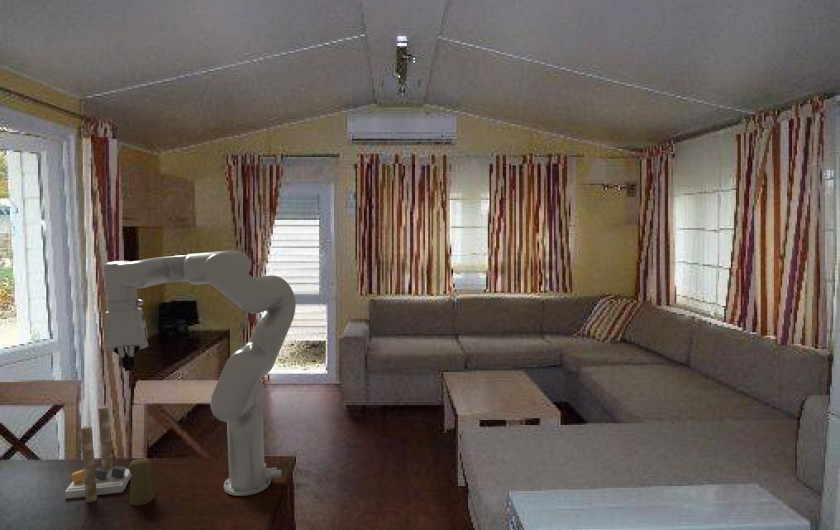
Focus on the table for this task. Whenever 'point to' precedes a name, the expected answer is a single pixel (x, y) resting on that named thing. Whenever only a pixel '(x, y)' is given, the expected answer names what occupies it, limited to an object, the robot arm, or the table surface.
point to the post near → (88, 464)
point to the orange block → (78, 476)
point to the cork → (140, 482)
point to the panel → (100, 486)
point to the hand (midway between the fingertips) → (129, 369)
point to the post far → (105, 437)
